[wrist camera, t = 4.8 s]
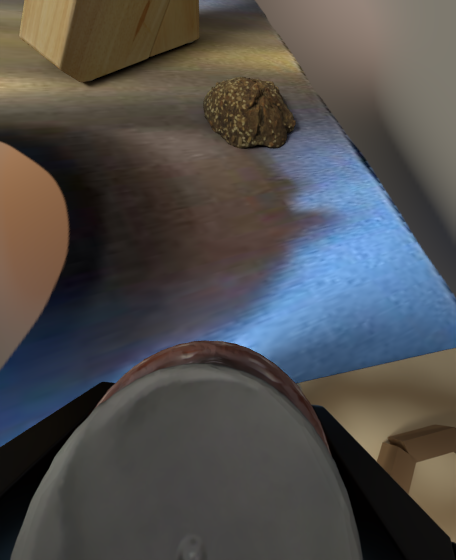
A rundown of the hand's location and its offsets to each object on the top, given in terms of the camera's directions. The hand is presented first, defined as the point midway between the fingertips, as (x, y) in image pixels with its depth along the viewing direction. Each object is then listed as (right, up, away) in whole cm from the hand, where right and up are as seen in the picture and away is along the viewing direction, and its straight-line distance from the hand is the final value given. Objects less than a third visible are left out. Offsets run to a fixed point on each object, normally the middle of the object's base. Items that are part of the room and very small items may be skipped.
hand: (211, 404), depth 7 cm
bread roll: (+4, +26, +27) cm, 38 cm away
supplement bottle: (0, -4, +6) cm, 7 cm away
